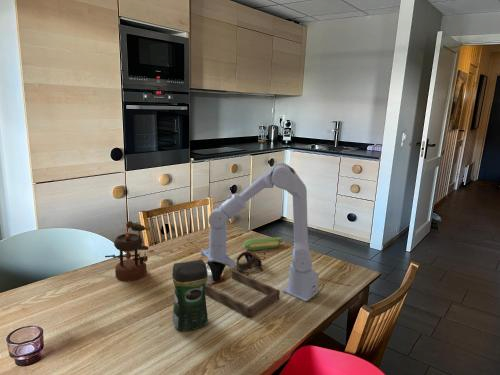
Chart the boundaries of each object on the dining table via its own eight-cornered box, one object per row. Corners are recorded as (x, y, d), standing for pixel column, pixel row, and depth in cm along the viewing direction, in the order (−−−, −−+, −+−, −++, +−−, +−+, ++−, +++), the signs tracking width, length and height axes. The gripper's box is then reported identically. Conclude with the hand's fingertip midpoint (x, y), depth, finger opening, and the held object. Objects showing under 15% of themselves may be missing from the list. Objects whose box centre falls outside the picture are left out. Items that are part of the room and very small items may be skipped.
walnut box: (279, 298, 118) (279, 290, 117) (249, 318, 107) (250, 309, 106) (233, 277, 130) (234, 270, 129) (202, 293, 119) (203, 285, 118)
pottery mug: (266, 276, 134) (258, 260, 130) (242, 285, 135) (234, 270, 131) (261, 255, 144) (253, 240, 140) (239, 264, 145) (231, 249, 141)
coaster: (193, 287, 123) (193, 277, 122) (187, 273, 132) (187, 264, 131) (221, 283, 126) (222, 274, 125) (214, 270, 135) (214, 261, 134)
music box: (148, 264, 137) (148, 215, 131) (153, 280, 128) (153, 228, 121) (105, 270, 131) (102, 219, 125) (106, 287, 121) (104, 232, 115)
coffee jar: (201, 311, 109) (202, 254, 104) (210, 326, 102) (212, 266, 97) (169, 318, 105) (169, 259, 100) (176, 334, 98) (176, 271, 93)
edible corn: (241, 239, 156) (245, 239, 151) (282, 235, 164) (287, 236, 159) (241, 251, 155) (246, 252, 151) (282, 247, 163) (287, 248, 159)
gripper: (194, 240, 123) (193, 277, 126) (225, 253, 114) (223, 292, 117) (209, 235, 128) (208, 270, 132) (240, 247, 119) (238, 284, 123)
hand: (216, 280), depth 125 cm, fingers closed
